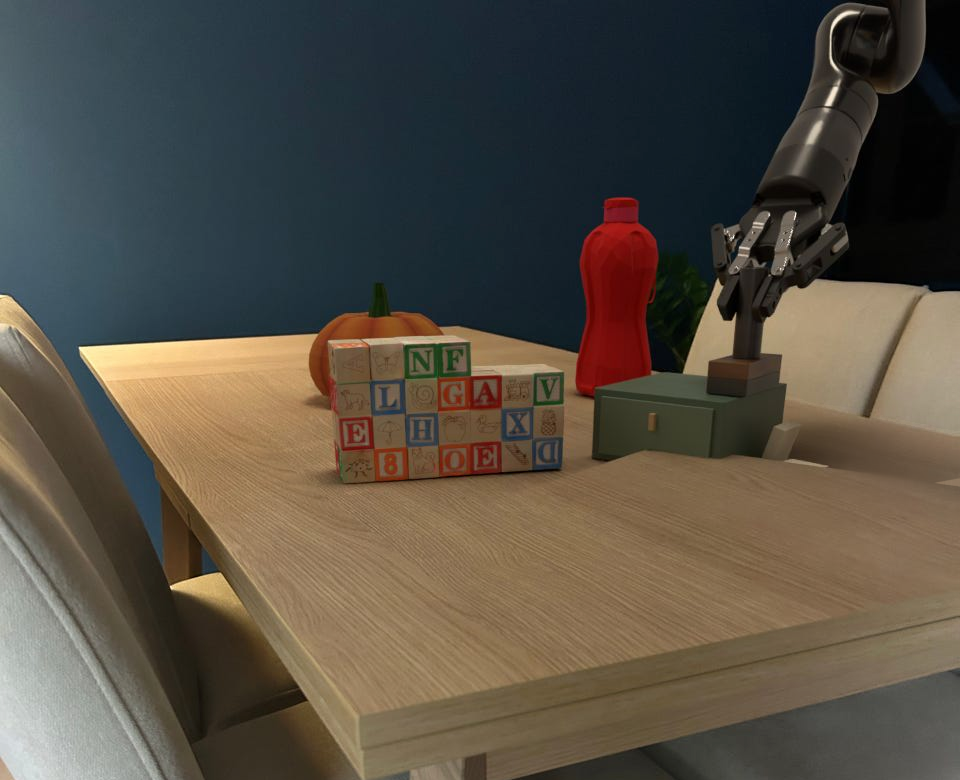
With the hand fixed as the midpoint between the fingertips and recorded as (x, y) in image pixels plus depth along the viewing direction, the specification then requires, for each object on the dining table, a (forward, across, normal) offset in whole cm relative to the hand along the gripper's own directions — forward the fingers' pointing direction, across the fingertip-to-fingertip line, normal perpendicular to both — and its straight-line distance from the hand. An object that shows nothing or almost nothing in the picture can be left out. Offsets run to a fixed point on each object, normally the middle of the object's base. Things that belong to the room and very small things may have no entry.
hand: (741, 315), depth 89 cm
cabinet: (+8, -6, +11) cm, 15 cm away
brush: (+3, 0, +6) cm, 7 cm away
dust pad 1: (+6, +3, +11) cm, 13 cm away
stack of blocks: (+23, -21, -2) cm, 31 cm away
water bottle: (-12, -32, +32) cm, 47 cm away
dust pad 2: (+9, +7, +9) cm, 15 cm away
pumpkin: (+4, -54, +16) cm, 57 cm away
